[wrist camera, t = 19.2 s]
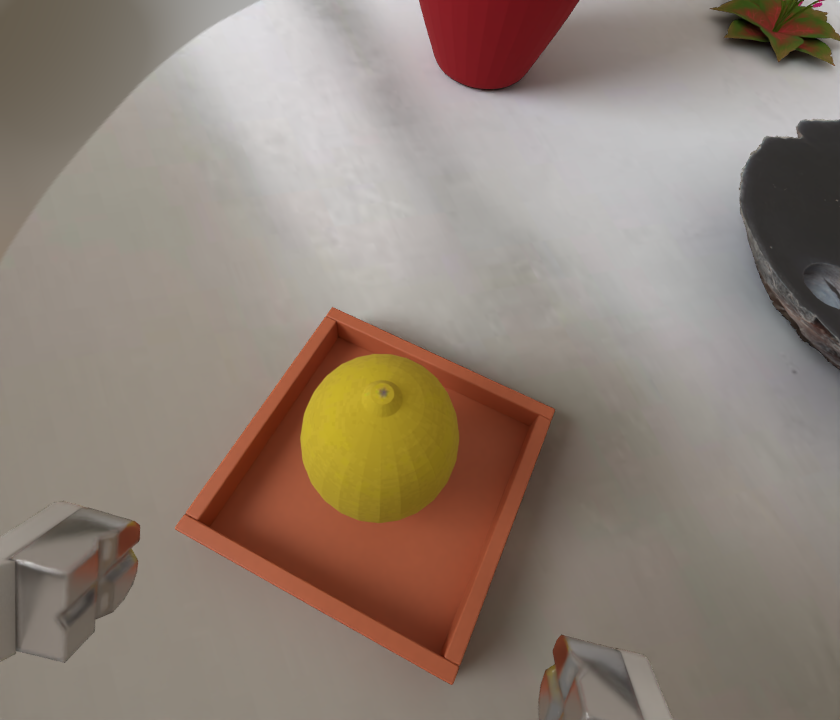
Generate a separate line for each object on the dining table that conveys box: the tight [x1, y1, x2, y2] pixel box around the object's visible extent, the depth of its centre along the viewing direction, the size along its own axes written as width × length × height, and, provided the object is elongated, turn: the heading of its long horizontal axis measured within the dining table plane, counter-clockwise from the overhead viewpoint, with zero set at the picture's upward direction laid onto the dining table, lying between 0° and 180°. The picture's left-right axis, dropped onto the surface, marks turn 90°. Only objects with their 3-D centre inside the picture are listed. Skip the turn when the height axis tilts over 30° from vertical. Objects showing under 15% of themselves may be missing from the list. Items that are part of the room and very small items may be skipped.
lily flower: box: [710, 0, 840, 66], centre depth 41 cm, size 12×12×5 cm
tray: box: [175, 307, 555, 685], centre depth 21 cm, size 11×11×2 cm
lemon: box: [300, 354, 459, 523], centre depth 18 cm, size 6×6×8 cm
